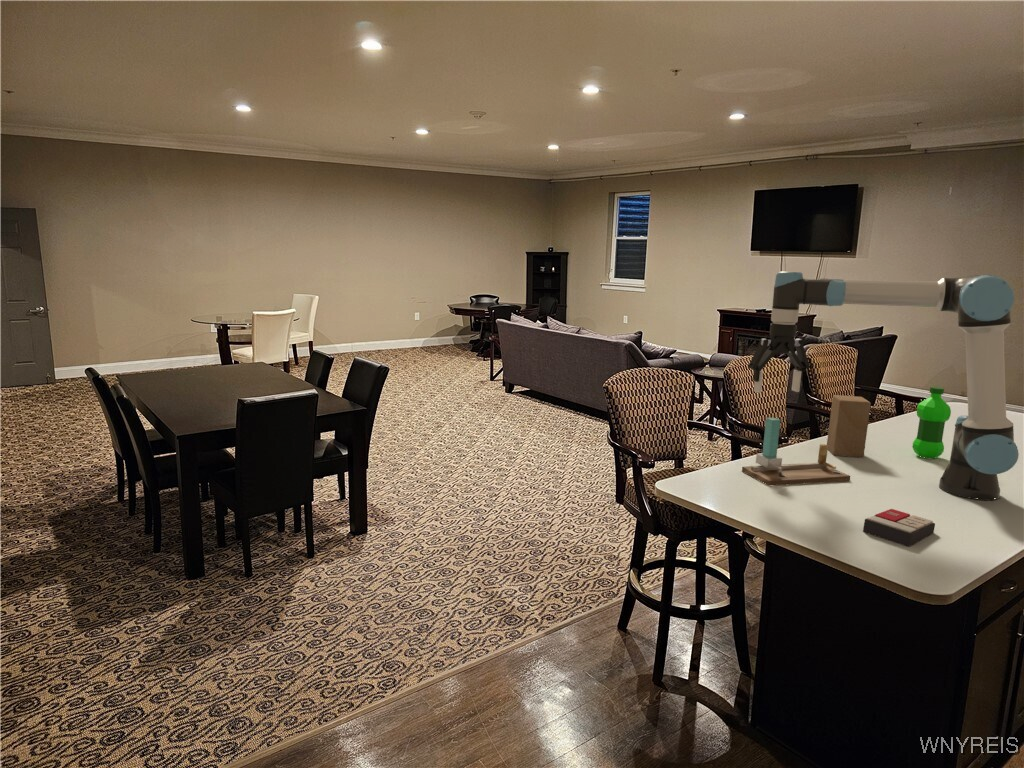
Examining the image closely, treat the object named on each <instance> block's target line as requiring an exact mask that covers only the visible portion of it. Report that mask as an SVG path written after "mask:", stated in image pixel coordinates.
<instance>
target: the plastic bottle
mask: <svg viewBox="0 0 1024 768" xmlns="http://www.w3.org/2000/svg"><path fill="white" fill-rule="evenodd" d="M944 391H945V388H943V387H939V386H930V388H929V393H930V396H929V397H928V398H925V399H924V400H922V401H920V402H919V403H918V404H917V407H916V416H917V417H918V418H919V422H918V427H917V435H916V437H915V438H914V440H913V441H912V446H911V447H912V450H913V452H914V453H915V454H916V455H917V456H918V457H919V456H921V457H925V458H924V459H926V458H935V459H936V458H938V457H940V456H941V455H943V453H944V452H945V451H944V450H945V445H944V442H943V438H944V431H945V425H946V422H947V421H949V420H950V417H951V414H952V409H951V406H949V404H948V403H947V402H946V401H945V400H944V399H943V398H942V395H944ZM921 457H920V458H921Z"/></svg>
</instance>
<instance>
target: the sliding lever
mask: <svg viewBox="0 0 1024 768" xmlns="http://www.w3.org/2000/svg"><path fill="white" fill-rule="evenodd" d="M780 427H781V419H779V418H776V417H766V418H765V426H764V435H763V436H764V437H763V444H762V445H763V446H762V452H761V453H760V452H759V453H756V456H755V463H756V464H758V465H759V466H761V465H762V466H764V467H766V468H776V469H778V470H779V475H781V474H782V468H781V465H782V464H783V458H782V457H780V456H778V445H779V437H780V429H781V428H780Z"/></svg>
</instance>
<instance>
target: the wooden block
mask: <svg viewBox="0 0 1024 768" xmlns="http://www.w3.org/2000/svg"><path fill="white" fill-rule="evenodd" d="M871 405H872V403H871V402H870V401H869V400H867V399H866V398H864V397H863V396H856V395H855V396H853V395H838V394H833V396H832V400H831V406H830V407H831V408H830V409H831V411H830V415H829V425H828V430H827V431H828V433H827V439H826V440H827V441H826V445H828V450H827V451H829V452H830V453H831V454H832V455H833V456H836V455H837V456H838V457H839V456H841V457H848V456H849V458H860V457H861V458H864V457H865V449H866V448H865V447H866V441H867V435H868V434H867V433H868V427H869V419H870V411H871Z"/></svg>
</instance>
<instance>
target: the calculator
mask: <svg viewBox="0 0 1024 768" xmlns="http://www.w3.org/2000/svg"><path fill="white" fill-rule="evenodd" d="M863 522H864V523H863V529H862V532H863V533H864V534H868V535H871V536H874V537H876V538H880V539H884V540H886V541H888V542H889V541H890V542H892V543H895V544H899V545H901V546H905V547H907V548H910V547H912V546H914V545H916V544H917V543H918V542H920V541H922V540H924V539H926V538H928V537H929V536H931V535H933V534H934V533H935V527H936V523H934V521H933V520H930V519H927V518H926V517H925V518H924V517H921V516H917V515H911V514H910V513H908V512H904V511H901V510H897V509H894V508H890V509H887V510H884V511H881V512H879V513H875V515H872V516H870V517H867V518H865V519H864V521H863Z"/></svg>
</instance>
